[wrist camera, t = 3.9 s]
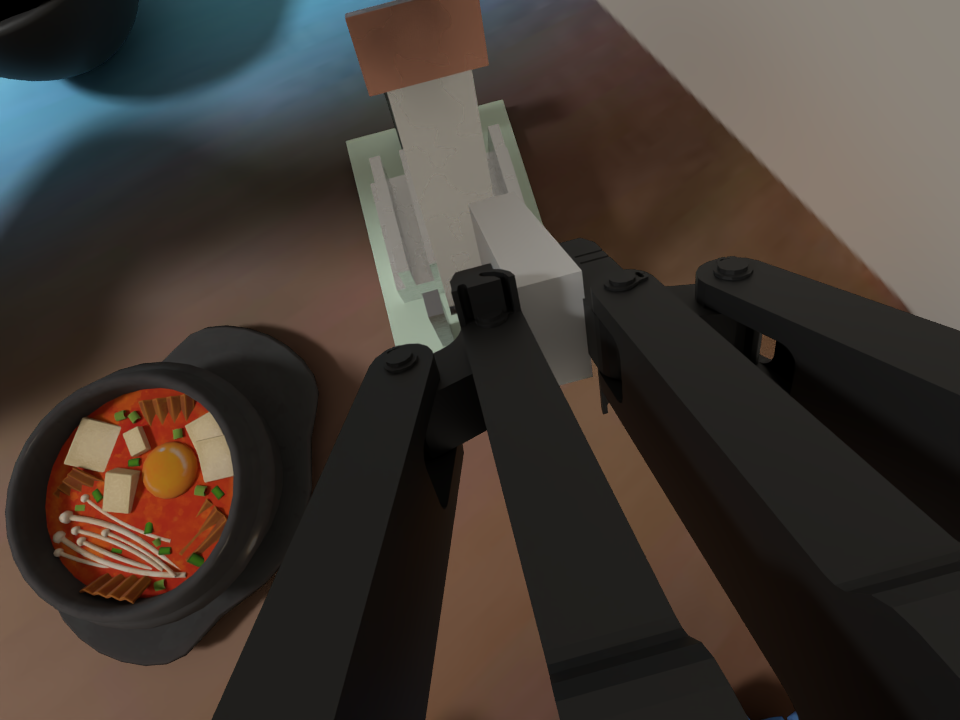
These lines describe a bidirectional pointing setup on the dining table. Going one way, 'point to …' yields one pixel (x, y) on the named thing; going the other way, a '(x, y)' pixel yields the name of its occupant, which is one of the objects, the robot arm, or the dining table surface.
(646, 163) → the dining table surface
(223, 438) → the casserole
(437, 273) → the heat sink
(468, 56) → the retention strap
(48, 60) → the coal bowl
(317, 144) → the dining table surface
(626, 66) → the dining table surface
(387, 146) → the circuit board
